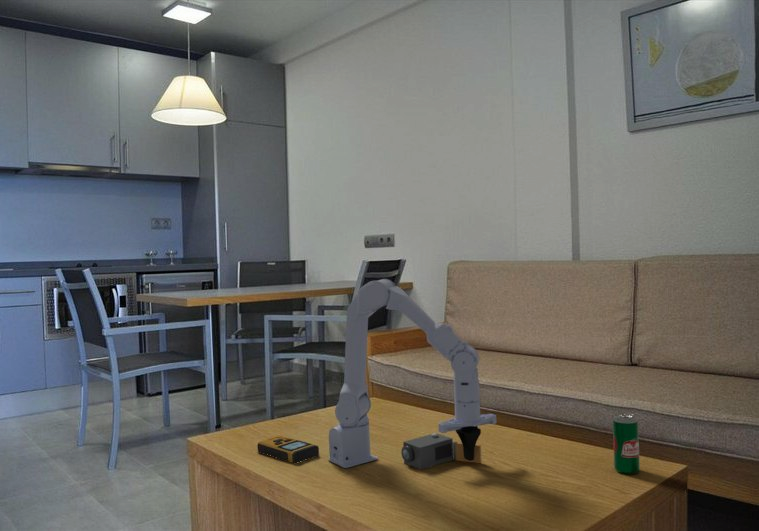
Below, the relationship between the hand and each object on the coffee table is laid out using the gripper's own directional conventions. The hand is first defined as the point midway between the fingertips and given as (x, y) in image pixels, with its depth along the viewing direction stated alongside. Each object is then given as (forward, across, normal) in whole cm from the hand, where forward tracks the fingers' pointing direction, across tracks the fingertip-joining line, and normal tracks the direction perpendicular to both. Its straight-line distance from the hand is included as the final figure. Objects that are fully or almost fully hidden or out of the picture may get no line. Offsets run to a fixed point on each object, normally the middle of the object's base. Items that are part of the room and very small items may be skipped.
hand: (469, 459), depth 141 cm
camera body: (+1, -6, +7) cm, 10 cm away
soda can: (+1, +26, -22) cm, 34 cm away
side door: (+1, +1, +2) cm, 3 cm away
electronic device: (+2, -33, +32) cm, 46 cm away
